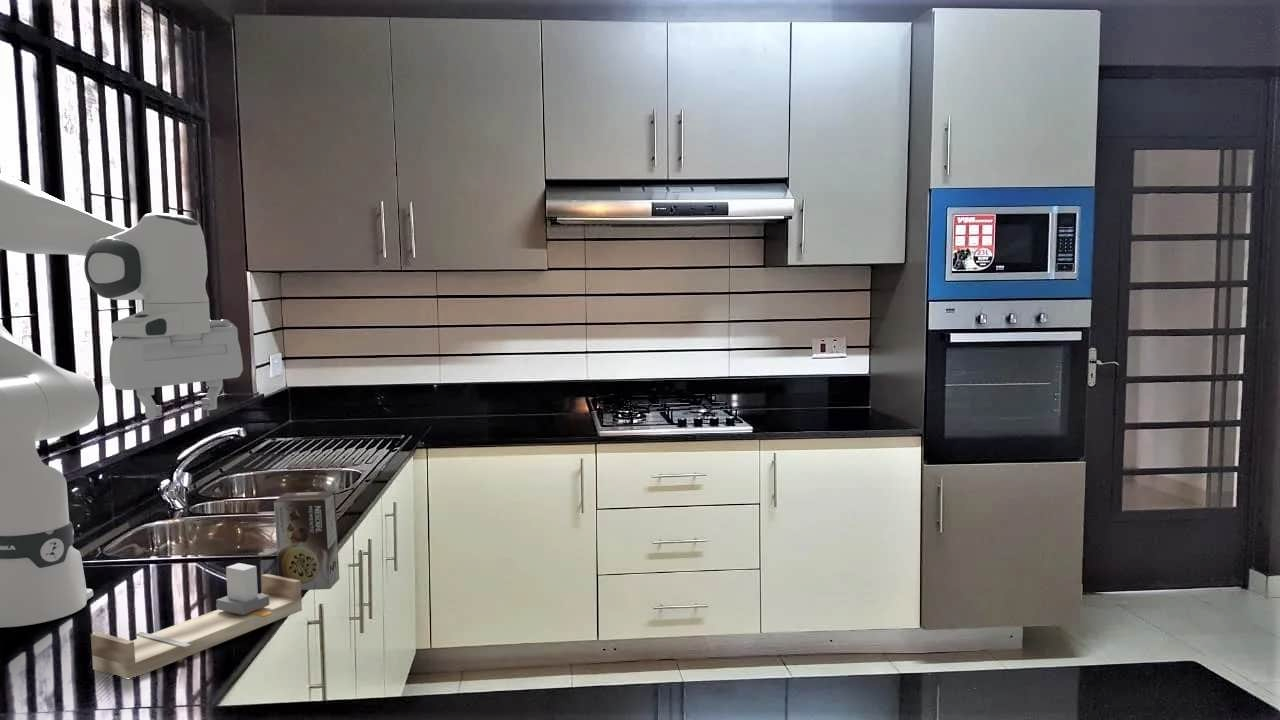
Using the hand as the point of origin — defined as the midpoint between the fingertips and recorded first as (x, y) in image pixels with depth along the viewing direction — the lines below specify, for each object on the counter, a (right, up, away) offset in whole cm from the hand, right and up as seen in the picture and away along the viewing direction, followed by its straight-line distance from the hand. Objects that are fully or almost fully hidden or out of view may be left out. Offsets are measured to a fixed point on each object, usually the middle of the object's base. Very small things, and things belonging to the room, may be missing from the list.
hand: (182, 413), depth 145 cm
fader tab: (+7, -31, +6) cm, 32 cm away
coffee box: (+11, -32, +25) cm, 42 cm away
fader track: (+3, -34, 0) cm, 34 cm away
